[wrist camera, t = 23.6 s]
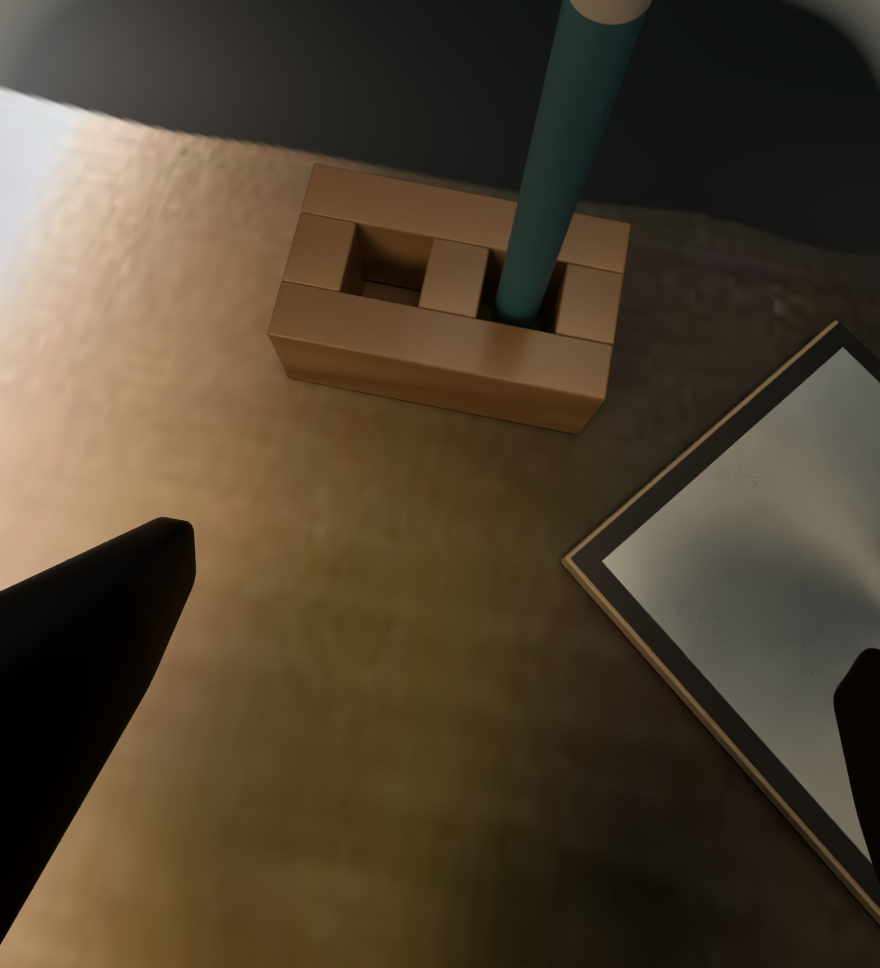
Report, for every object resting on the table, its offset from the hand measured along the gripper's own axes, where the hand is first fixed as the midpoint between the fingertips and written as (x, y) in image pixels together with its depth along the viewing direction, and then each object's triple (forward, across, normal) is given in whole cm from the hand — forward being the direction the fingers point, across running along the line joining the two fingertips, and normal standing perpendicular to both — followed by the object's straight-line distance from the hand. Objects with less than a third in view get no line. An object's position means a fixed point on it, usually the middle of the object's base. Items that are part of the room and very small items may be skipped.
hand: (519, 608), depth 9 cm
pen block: (+16, +2, +2) cm, 17 cm away
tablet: (+11, -13, +8) cm, 19 cm away
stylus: (+16, 0, +2) cm, 17 cm away
